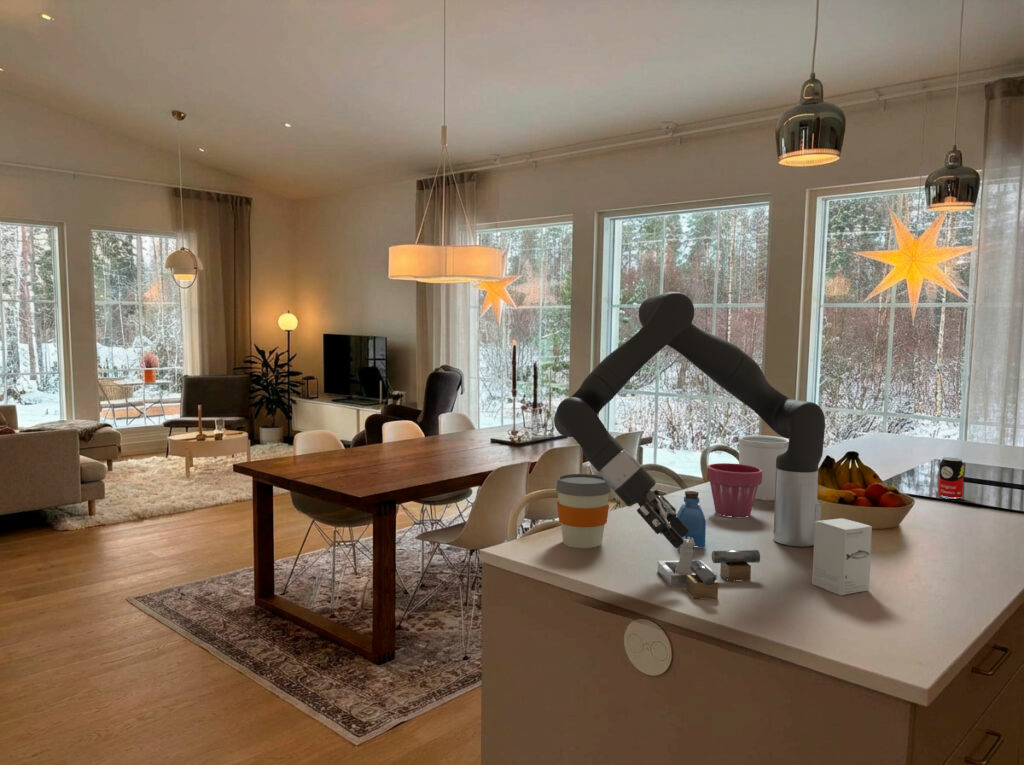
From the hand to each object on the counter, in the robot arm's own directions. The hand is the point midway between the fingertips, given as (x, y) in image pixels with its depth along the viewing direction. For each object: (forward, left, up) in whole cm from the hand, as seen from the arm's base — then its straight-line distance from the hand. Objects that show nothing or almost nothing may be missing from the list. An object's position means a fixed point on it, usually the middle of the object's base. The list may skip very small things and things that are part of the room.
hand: (683, 539), depth 144 cm
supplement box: (-29, +7, -8) cm, 31 cm away
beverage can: (-105, -67, -8) cm, 124 cm away
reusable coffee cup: (+15, -26, -8) cm, 31 cm away
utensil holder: (-49, -73, -8) cm, 88 cm away
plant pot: (-31, -51, -8) cm, 60 cm away
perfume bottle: (-10, -24, -8) cm, 27 cm away
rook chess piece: (-1, 0, -8) cm, 8 cm away
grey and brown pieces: (-6, +4, -8) cm, 10 cm away
